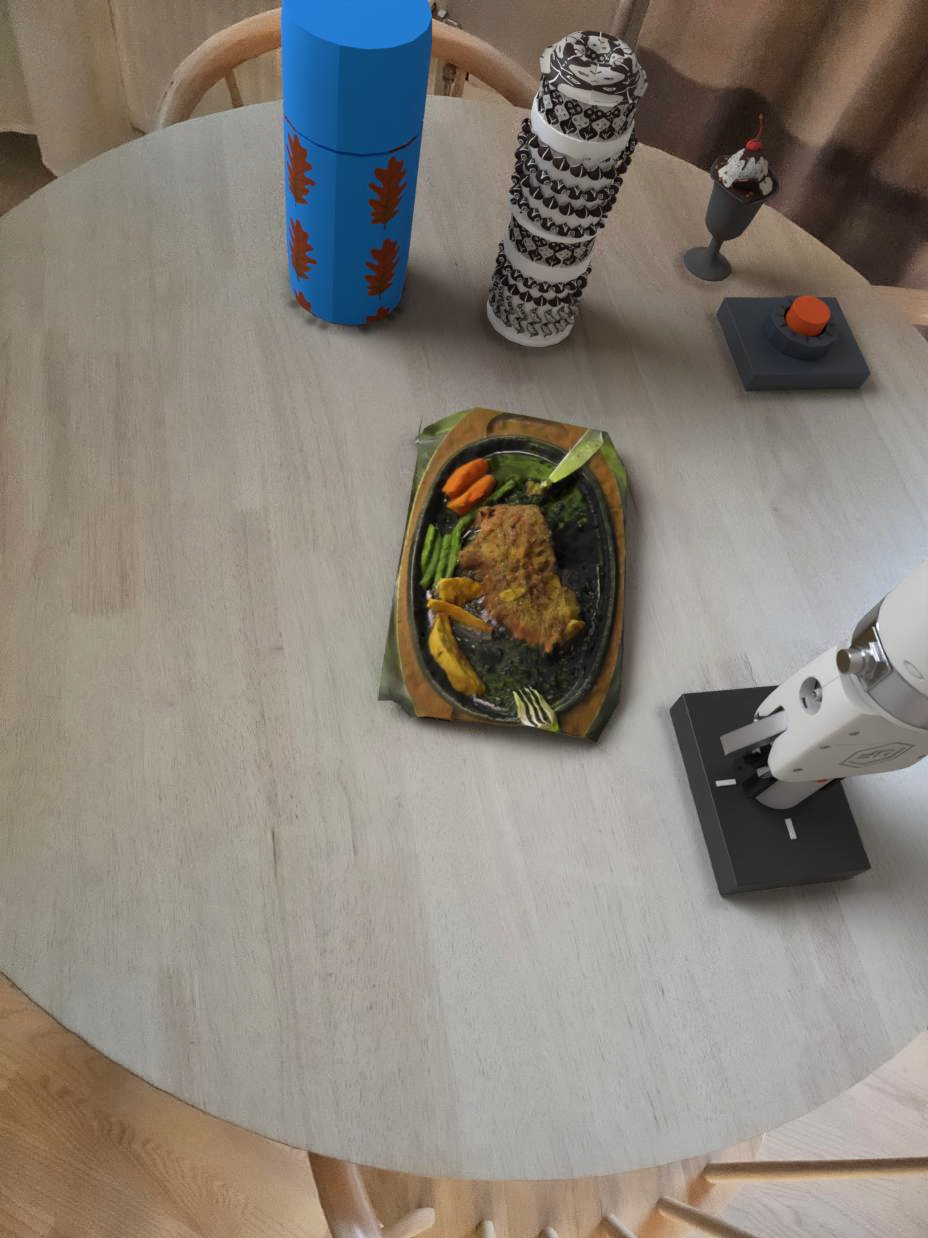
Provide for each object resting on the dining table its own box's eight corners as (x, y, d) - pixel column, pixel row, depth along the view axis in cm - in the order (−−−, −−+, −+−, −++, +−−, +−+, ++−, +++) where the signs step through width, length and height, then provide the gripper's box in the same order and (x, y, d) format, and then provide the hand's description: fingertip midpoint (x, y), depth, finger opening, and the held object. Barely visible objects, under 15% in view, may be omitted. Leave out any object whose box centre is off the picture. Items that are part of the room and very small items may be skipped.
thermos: (332, 342, 84) (339, 66, 63) (264, 269, 88) (249, -18, 66) (427, 298, 89) (465, 25, 67) (359, 229, 92) (374, -52, 70)
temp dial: (735, 750, 67) (769, 718, 62) (793, 744, 68) (832, 712, 63) (753, 812, 65) (791, 785, 60) (814, 805, 66) (856, 778, 61)
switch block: (825, 313, 96) (845, 282, 92) (859, 389, 91) (881, 359, 88) (715, 314, 94) (731, 282, 90) (745, 391, 89) (762, 360, 85)
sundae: (704, 233, 99) (763, 96, 86) (750, 272, 97) (818, 138, 84) (661, 255, 97) (716, 117, 84) (708, 296, 95) (771, 161, 82)
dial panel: (668, 709, 72) (683, 692, 69) (789, 698, 74) (807, 681, 71) (719, 896, 65) (737, 886, 62) (850, 879, 67) (873, 868, 64)
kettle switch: (814, 309, 90) (823, 295, 89) (827, 337, 89) (836, 323, 87) (780, 309, 90) (788, 295, 88) (792, 337, 88) (800, 323, 87)
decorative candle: (573, 359, 88) (659, 102, 66) (475, 337, 87) (530, 71, 66) (582, 292, 92) (666, 31, 71) (489, 271, 92) (545, 2, 70)
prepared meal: (634, 729, 66) (379, 691, 64) (619, 749, 69) (375, 713, 67) (630, 431, 81) (422, 393, 79) (618, 458, 84) (417, 422, 82)
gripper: (803, 739, 47) (679, 840, 63) (1094, 709, 50) (906, 813, 66) (759, 607, 50) (651, 735, 66) (1033, 587, 54) (868, 714, 69)
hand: (780, 773), depth 66 cm, fingers closed on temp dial, 4 cm apart
